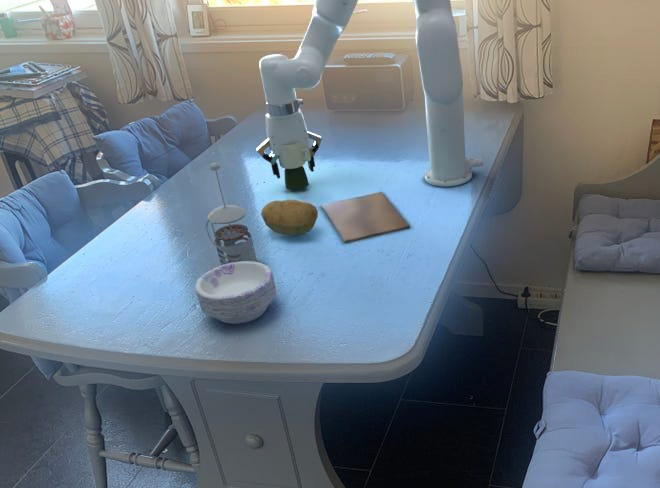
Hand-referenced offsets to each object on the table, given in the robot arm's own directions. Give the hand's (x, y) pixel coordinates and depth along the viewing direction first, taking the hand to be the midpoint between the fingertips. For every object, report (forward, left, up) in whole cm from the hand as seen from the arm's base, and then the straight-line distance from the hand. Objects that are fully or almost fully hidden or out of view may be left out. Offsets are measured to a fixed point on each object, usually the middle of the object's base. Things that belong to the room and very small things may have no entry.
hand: (294, 173), depth 201 cm
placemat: (-11, +26, -4) cm, 29 cm away
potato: (+7, +26, -4) cm, 27 cm away
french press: (+22, +38, -4) cm, 44 cm away
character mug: (0, 0, -4) cm, 4 cm away
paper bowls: (+24, +56, -4) cm, 61 cm away
